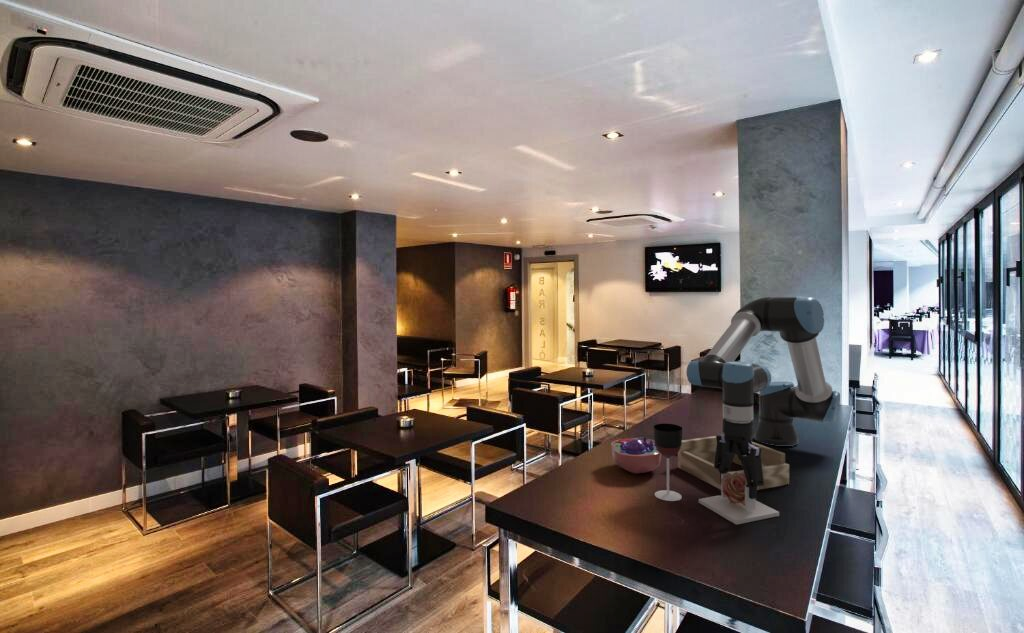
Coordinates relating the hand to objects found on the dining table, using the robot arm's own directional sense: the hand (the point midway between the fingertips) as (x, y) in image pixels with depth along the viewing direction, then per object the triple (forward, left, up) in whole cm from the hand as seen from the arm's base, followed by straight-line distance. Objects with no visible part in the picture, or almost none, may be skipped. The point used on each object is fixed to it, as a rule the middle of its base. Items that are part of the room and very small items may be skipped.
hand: (737, 502), depth 131 cm
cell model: (+9, -35, -2) cm, 36 cm away
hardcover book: (-14, -52, -3) cm, 54 cm away
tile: (0, 0, -2) cm, 2 cm away
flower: (0, 0, -1) cm, 1 cm away
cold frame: (-16, -20, -2) cm, 26 cm away
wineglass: (+12, -14, -2) cm, 19 cm away
